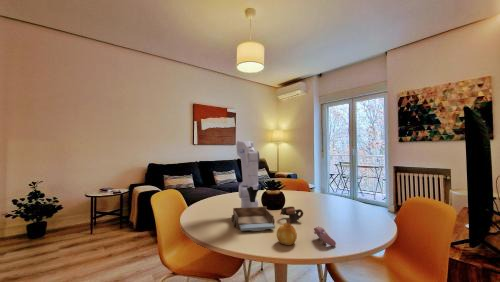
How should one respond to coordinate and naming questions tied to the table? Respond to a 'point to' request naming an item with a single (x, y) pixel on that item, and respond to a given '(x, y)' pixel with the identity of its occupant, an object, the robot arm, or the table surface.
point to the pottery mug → (291, 214)
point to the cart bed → (251, 216)
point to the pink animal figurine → (324, 236)
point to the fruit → (286, 234)
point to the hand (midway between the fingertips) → (252, 202)
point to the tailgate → (256, 226)
